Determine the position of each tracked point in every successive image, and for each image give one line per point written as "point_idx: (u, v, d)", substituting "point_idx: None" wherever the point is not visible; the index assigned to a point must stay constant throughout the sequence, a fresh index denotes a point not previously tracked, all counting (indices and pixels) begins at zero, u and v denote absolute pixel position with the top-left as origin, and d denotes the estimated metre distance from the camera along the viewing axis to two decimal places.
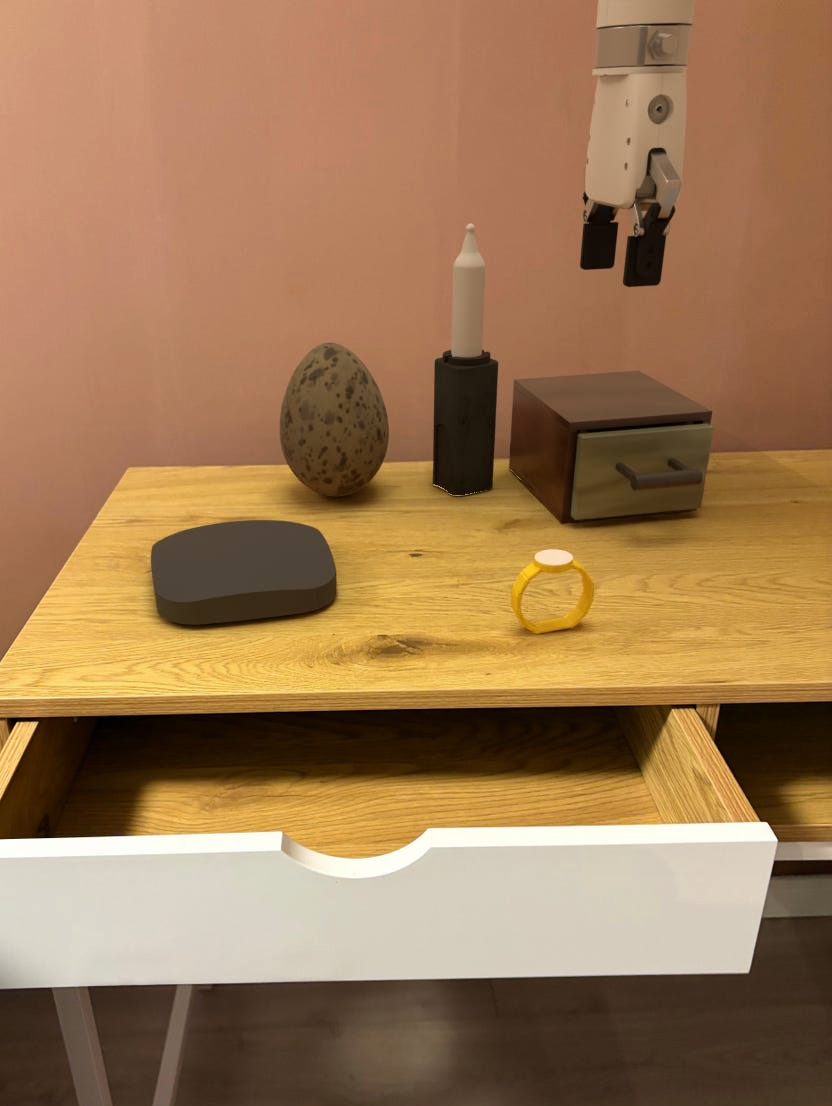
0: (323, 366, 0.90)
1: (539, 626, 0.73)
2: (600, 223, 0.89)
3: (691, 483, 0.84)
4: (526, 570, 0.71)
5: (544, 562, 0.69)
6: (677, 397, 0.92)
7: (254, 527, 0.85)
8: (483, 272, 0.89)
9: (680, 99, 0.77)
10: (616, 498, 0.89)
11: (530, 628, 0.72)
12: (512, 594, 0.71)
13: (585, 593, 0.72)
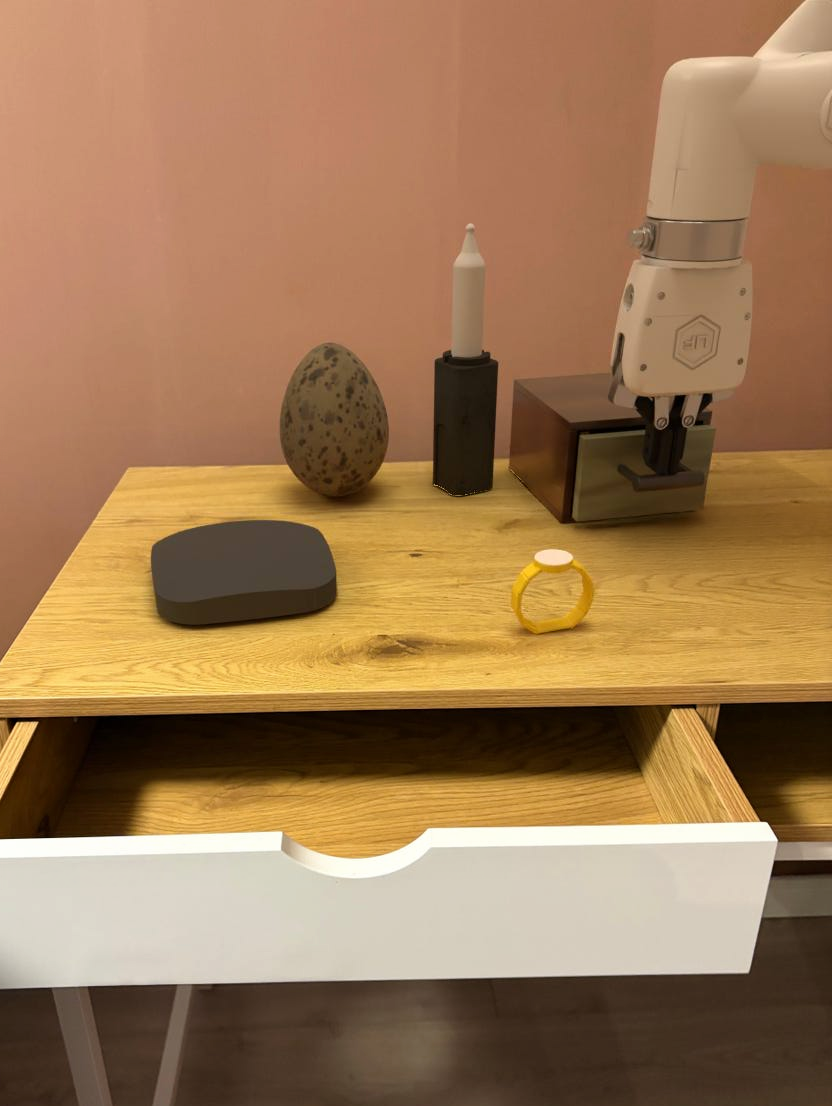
0: (323, 366, 0.90)
1: (539, 626, 0.73)
2: (669, 423, 0.83)
3: (693, 484, 0.83)
4: (526, 570, 0.71)
5: (544, 562, 0.69)
6: None
7: (254, 527, 0.85)
8: (483, 272, 0.89)
9: (640, 292, 0.75)
10: (618, 499, 0.88)
11: (530, 628, 0.72)
12: (512, 594, 0.71)
13: (585, 593, 0.72)
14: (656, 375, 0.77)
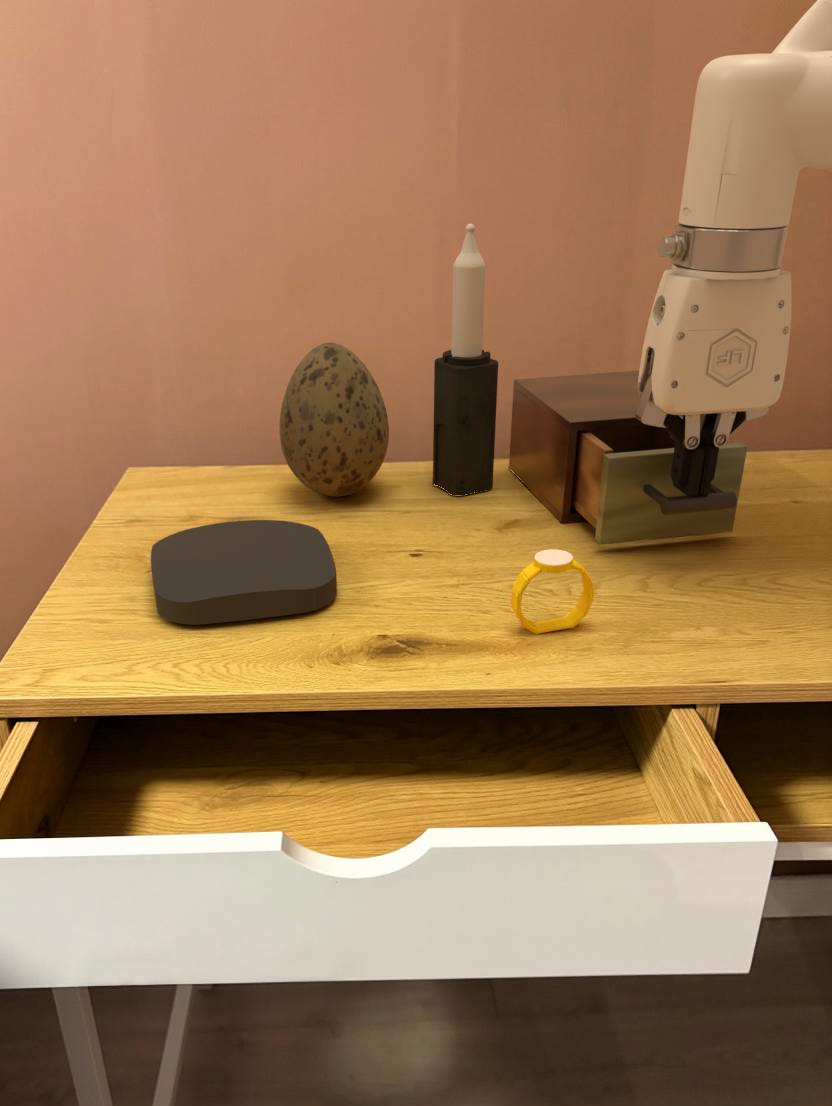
0: (323, 366, 0.90)
1: (539, 626, 0.73)
2: (699, 442, 0.78)
3: (725, 506, 0.79)
4: (526, 570, 0.71)
5: (544, 562, 0.69)
6: None
7: (254, 527, 0.85)
8: (483, 272, 0.89)
9: (672, 305, 0.70)
10: (643, 521, 0.84)
11: (530, 628, 0.72)
12: (512, 594, 0.71)
13: (585, 593, 0.72)
14: (688, 392, 0.73)
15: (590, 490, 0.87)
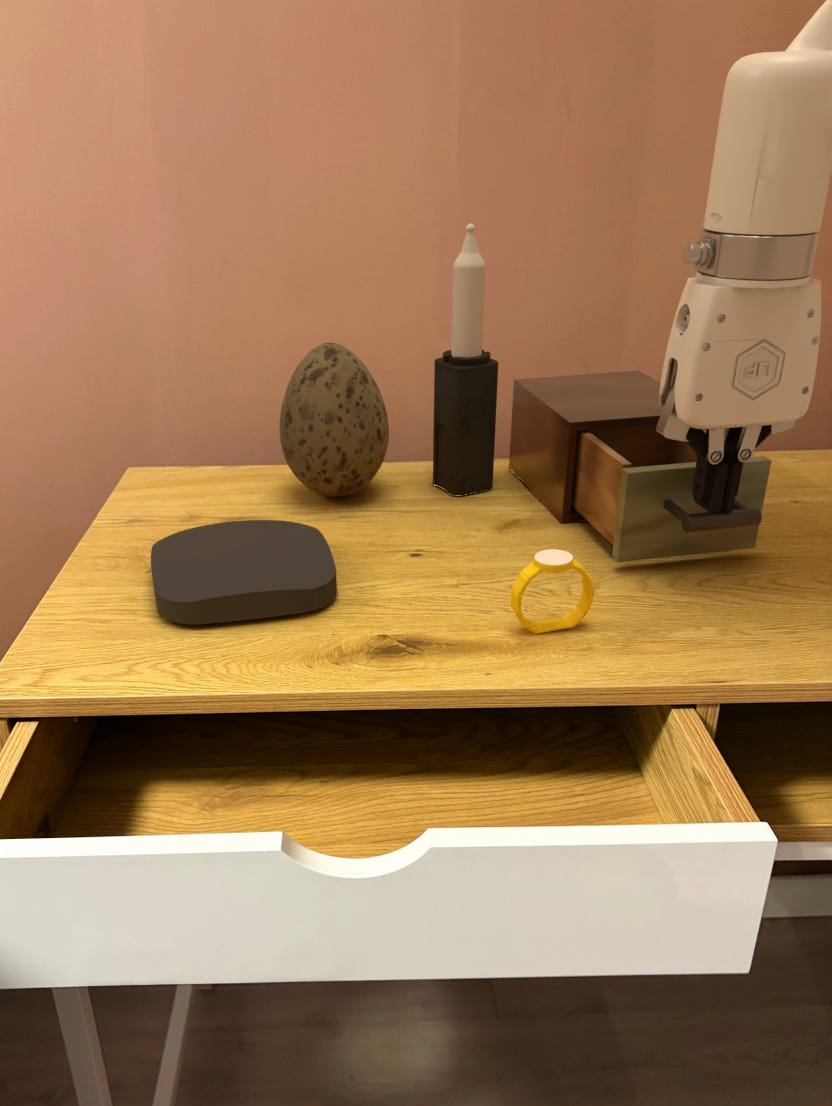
0: (323, 366, 0.90)
1: (539, 626, 0.73)
2: (722, 456, 0.75)
3: (749, 523, 0.76)
4: (526, 570, 0.71)
5: (544, 562, 0.69)
6: None
7: (254, 527, 0.85)
8: (483, 272, 0.89)
9: (697, 314, 0.67)
10: (663, 538, 0.81)
11: (530, 628, 0.72)
12: (512, 594, 0.71)
13: (585, 593, 0.72)
14: (713, 406, 0.69)
15: (607, 505, 0.83)
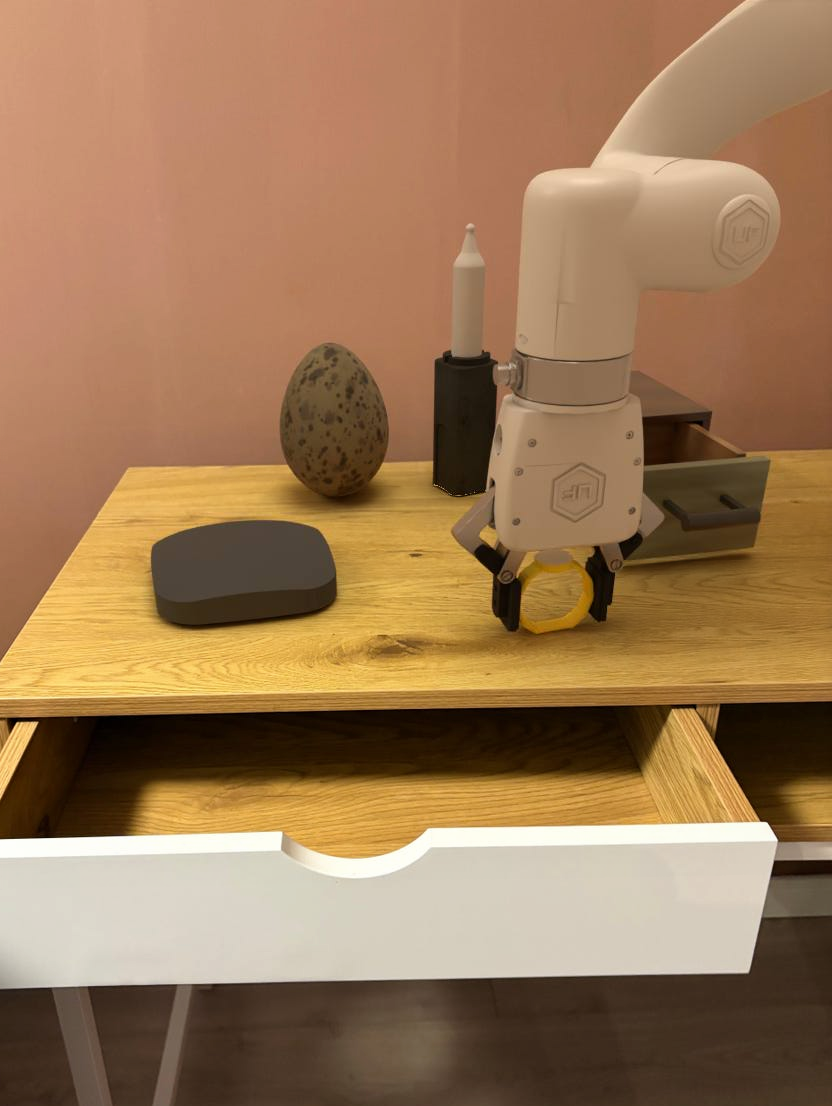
0: (323, 366, 0.90)
1: (539, 626, 0.73)
2: (595, 565, 0.71)
3: (748, 523, 0.76)
4: (526, 570, 0.71)
5: (544, 562, 0.69)
6: (677, 397, 0.92)
7: (254, 527, 0.85)
8: (483, 272, 0.89)
9: (508, 438, 0.63)
10: (662, 537, 0.81)
11: (530, 628, 0.72)
12: None
13: (585, 593, 0.72)
14: (532, 529, 0.66)
15: None
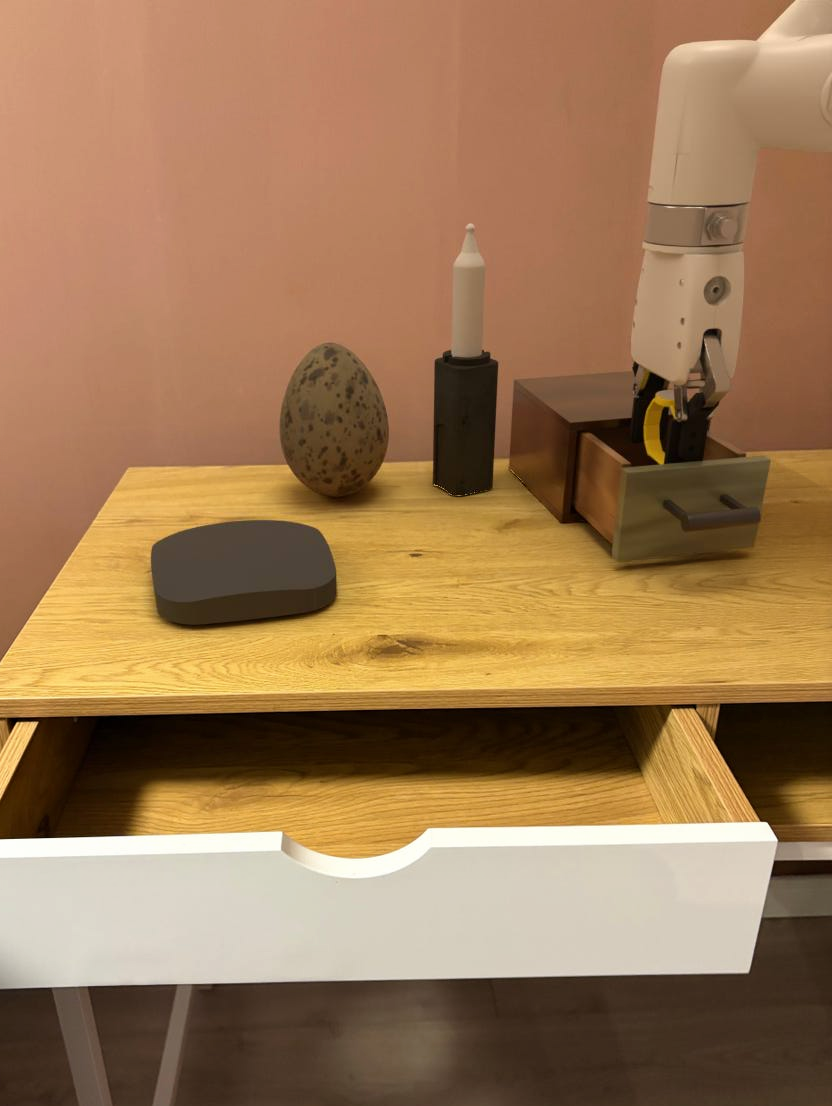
0: (323, 366, 0.90)
1: None
2: (651, 397, 0.85)
3: (748, 523, 0.76)
4: None
5: None
6: None
7: (254, 527, 0.85)
8: (483, 272, 0.89)
9: (738, 280, 0.73)
10: (662, 537, 0.81)
11: None
12: None
13: (649, 425, 0.85)
14: None
15: (606, 504, 0.83)
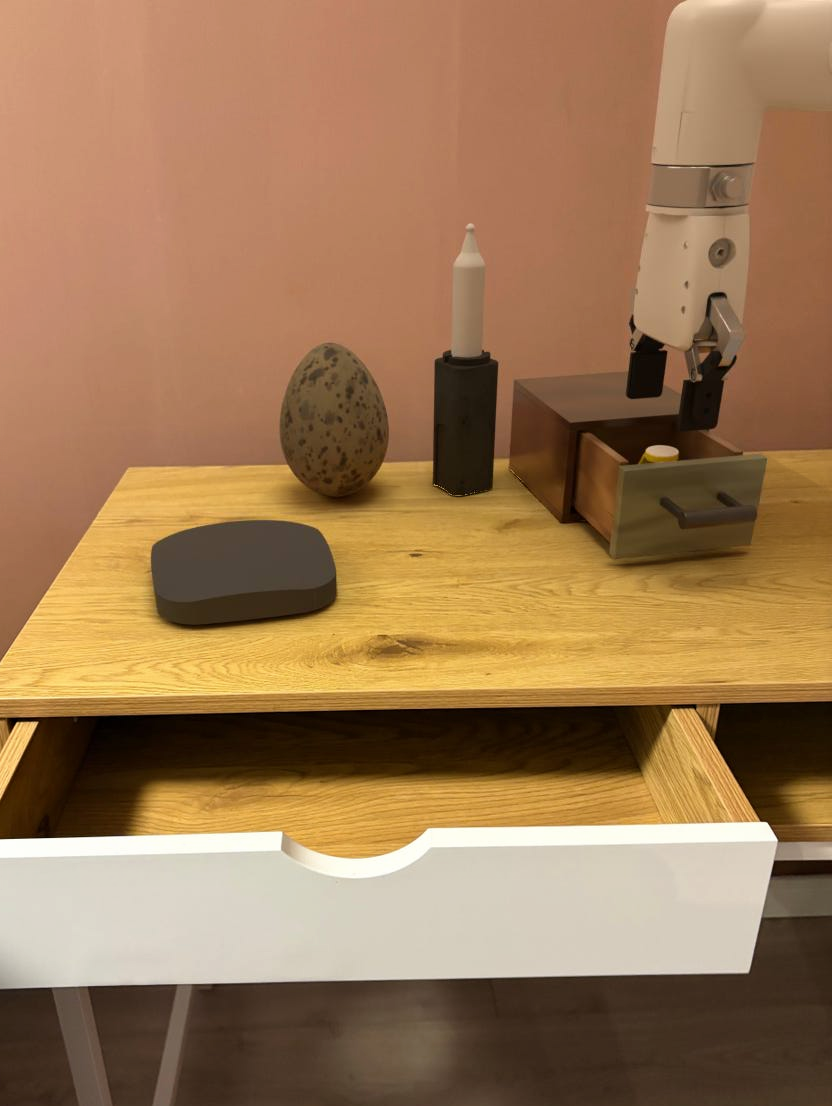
0: (323, 366, 0.90)
1: None
2: (648, 352, 0.84)
3: (745, 520, 0.76)
4: None
5: (674, 454, 0.83)
6: (677, 397, 0.92)
7: (254, 527, 0.85)
8: (483, 272, 0.89)
9: (743, 242, 0.72)
10: (659, 535, 0.81)
11: None
12: None
13: None
14: None
15: (604, 502, 0.84)
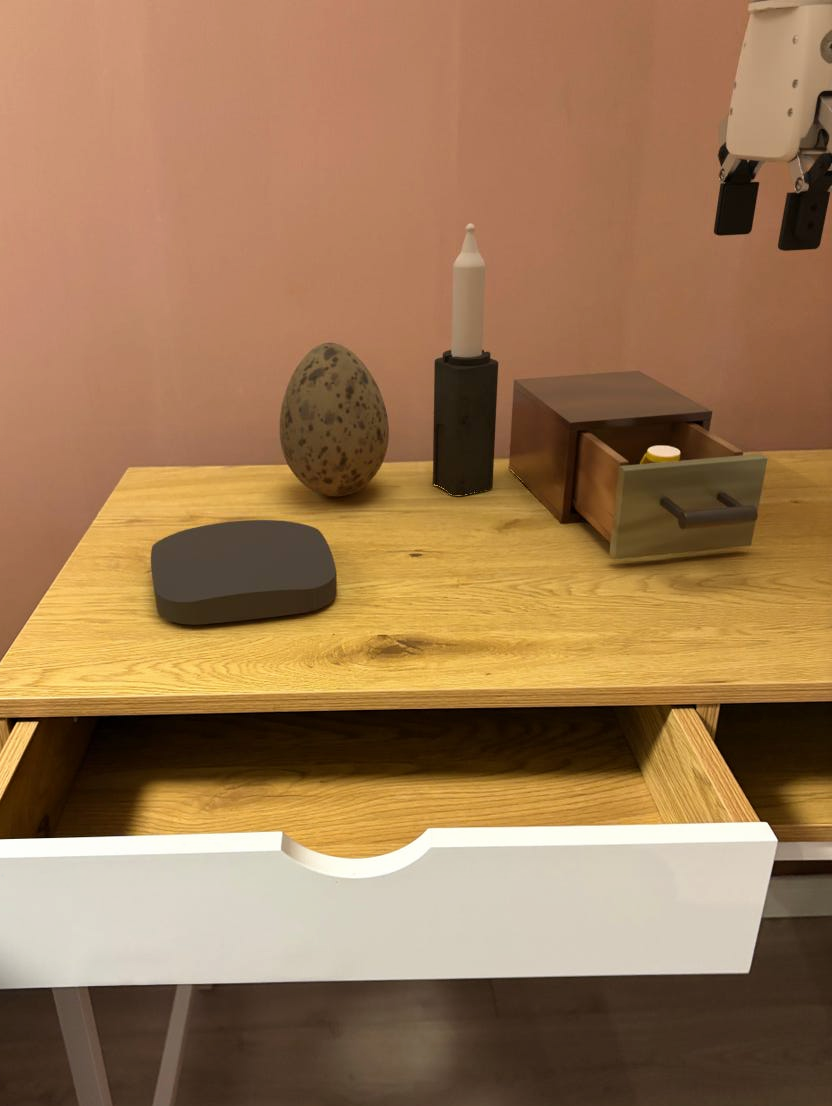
0: (323, 366, 0.90)
1: None
2: (739, 183, 0.80)
3: (745, 521, 0.76)
4: None
5: (676, 454, 0.83)
6: (677, 397, 0.92)
7: (254, 527, 0.85)
8: (483, 272, 0.89)
9: None
10: (660, 535, 0.81)
11: None
12: None
13: None
14: None
15: (604, 502, 0.84)
